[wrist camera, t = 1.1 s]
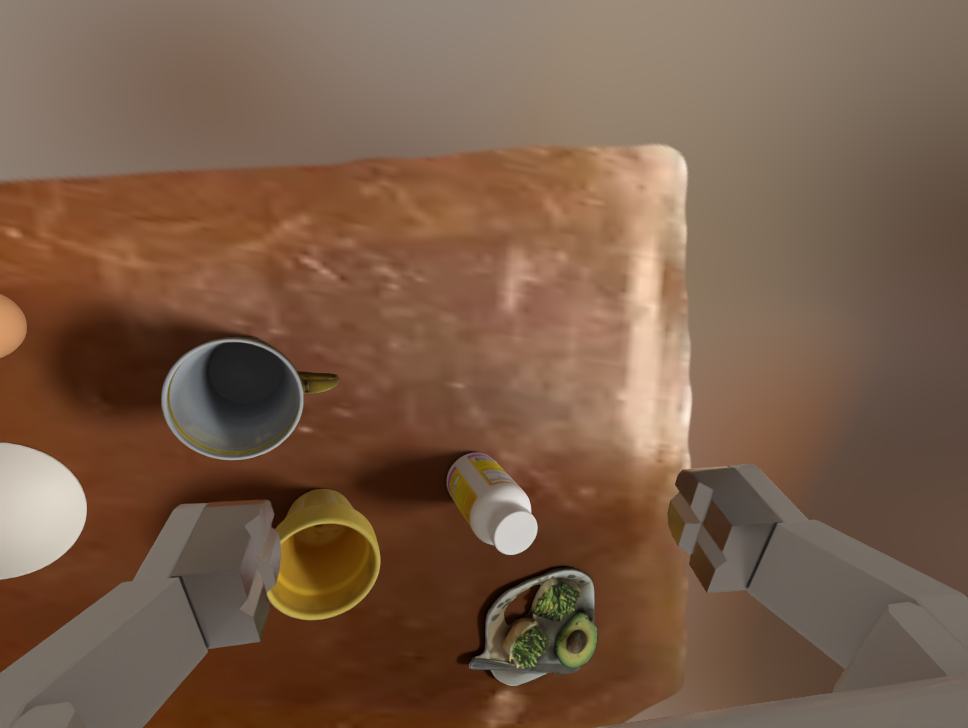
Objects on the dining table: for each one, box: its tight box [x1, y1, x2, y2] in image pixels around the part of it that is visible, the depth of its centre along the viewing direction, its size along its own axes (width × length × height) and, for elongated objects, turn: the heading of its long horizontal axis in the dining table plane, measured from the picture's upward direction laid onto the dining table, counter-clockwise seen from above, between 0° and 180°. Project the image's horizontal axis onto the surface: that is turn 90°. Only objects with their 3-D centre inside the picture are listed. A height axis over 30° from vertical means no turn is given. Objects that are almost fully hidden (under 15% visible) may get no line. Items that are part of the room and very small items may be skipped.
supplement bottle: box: [447, 452, 537, 555], centre depth 53 cm, size 7×7×13 cm
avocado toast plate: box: [468, 567, 598, 686], centre depth 66 cm, size 19×18×5 cm
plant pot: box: [267, 489, 380, 620], centre depth 49 cm, size 10×10×10 cm
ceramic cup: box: [161, 336, 339, 460], centre depth 43 cm, size 13×10×10 cm
